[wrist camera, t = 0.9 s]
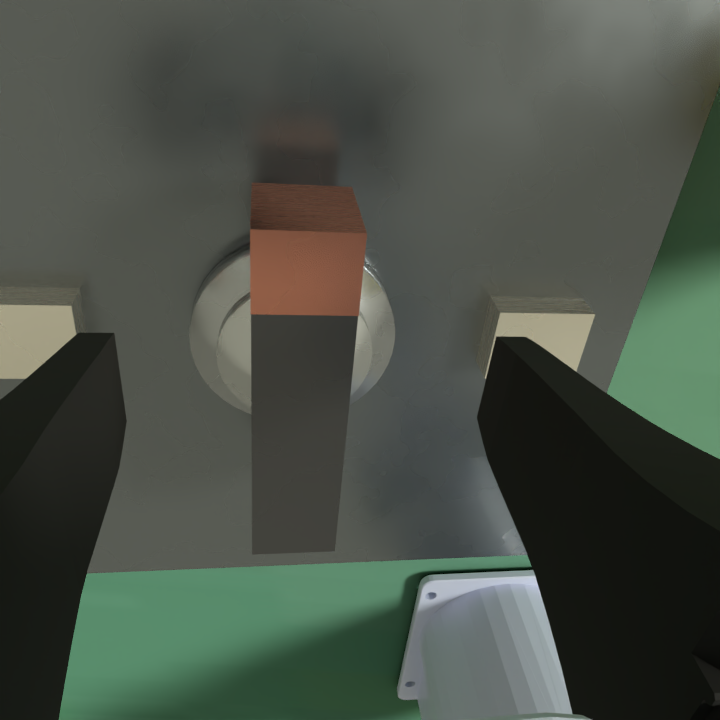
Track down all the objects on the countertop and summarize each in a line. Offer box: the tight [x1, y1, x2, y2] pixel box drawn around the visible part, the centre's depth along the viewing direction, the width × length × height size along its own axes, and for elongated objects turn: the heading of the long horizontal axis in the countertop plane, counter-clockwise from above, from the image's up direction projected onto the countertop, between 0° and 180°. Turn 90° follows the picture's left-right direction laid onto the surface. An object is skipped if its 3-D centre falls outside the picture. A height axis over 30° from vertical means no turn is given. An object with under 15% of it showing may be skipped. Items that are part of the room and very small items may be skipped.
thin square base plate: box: [0, 0, 720, 573], centre depth 20 cm, size 22×22×2 cm
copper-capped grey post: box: [216, 183, 372, 555], centre depth 18 cm, size 10×4×3 cm, turn 175°
